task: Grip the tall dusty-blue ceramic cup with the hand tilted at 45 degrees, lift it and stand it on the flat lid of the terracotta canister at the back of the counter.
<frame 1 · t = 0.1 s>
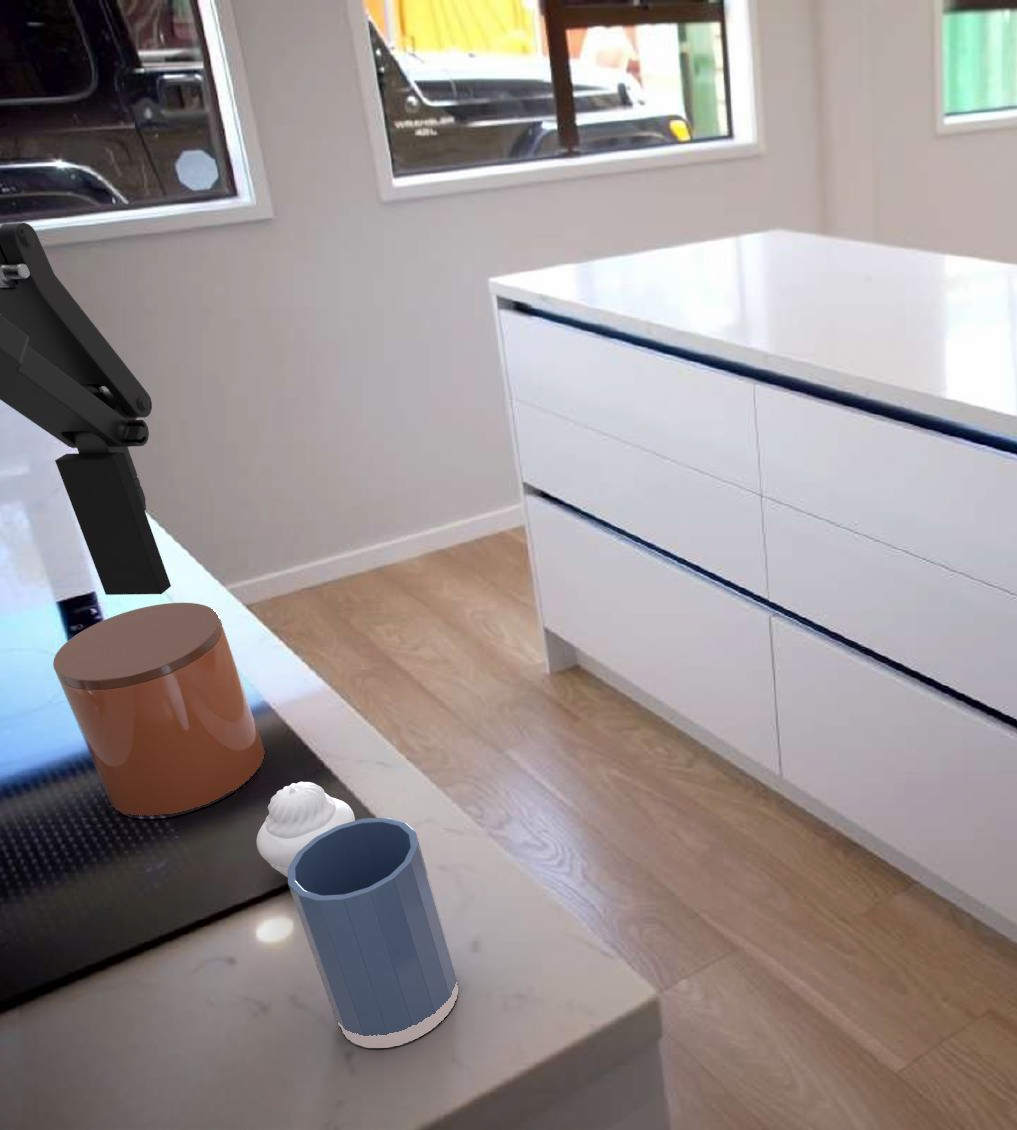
hand: (38, 672, 52), 30 cm above the worktop, tool pointing down, fingers open, 13 cm apart
canister: (189, 774, 98), on the worktop
muffin: (320, 873, 87), on the worktop
cup: (399, 1003, 75), on the worktop
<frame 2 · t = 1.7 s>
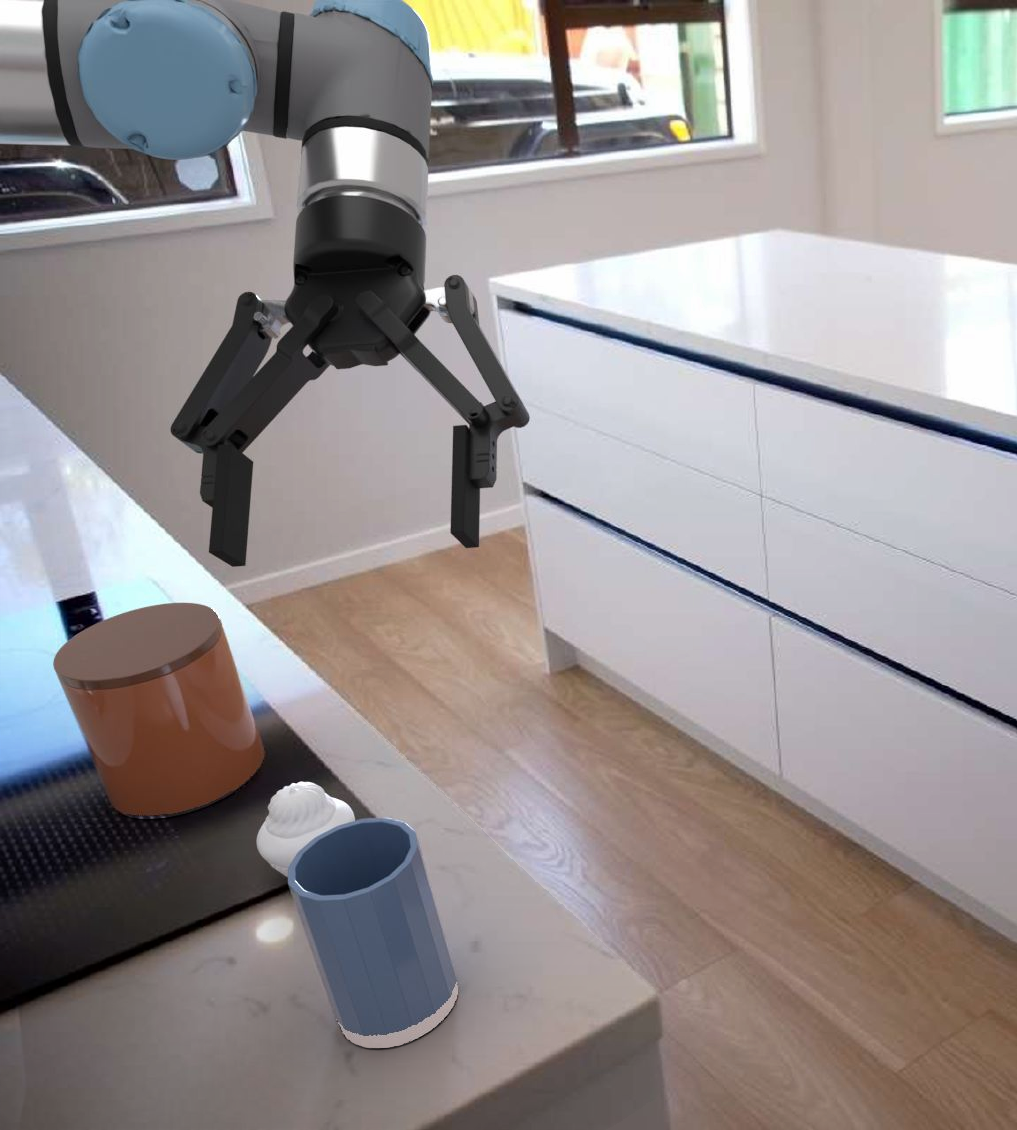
hand: (345, 550, 73), 25 cm above the worktop, tool tilted 45°, fingers open, 13 cm apart
nothing on the worktop moved.
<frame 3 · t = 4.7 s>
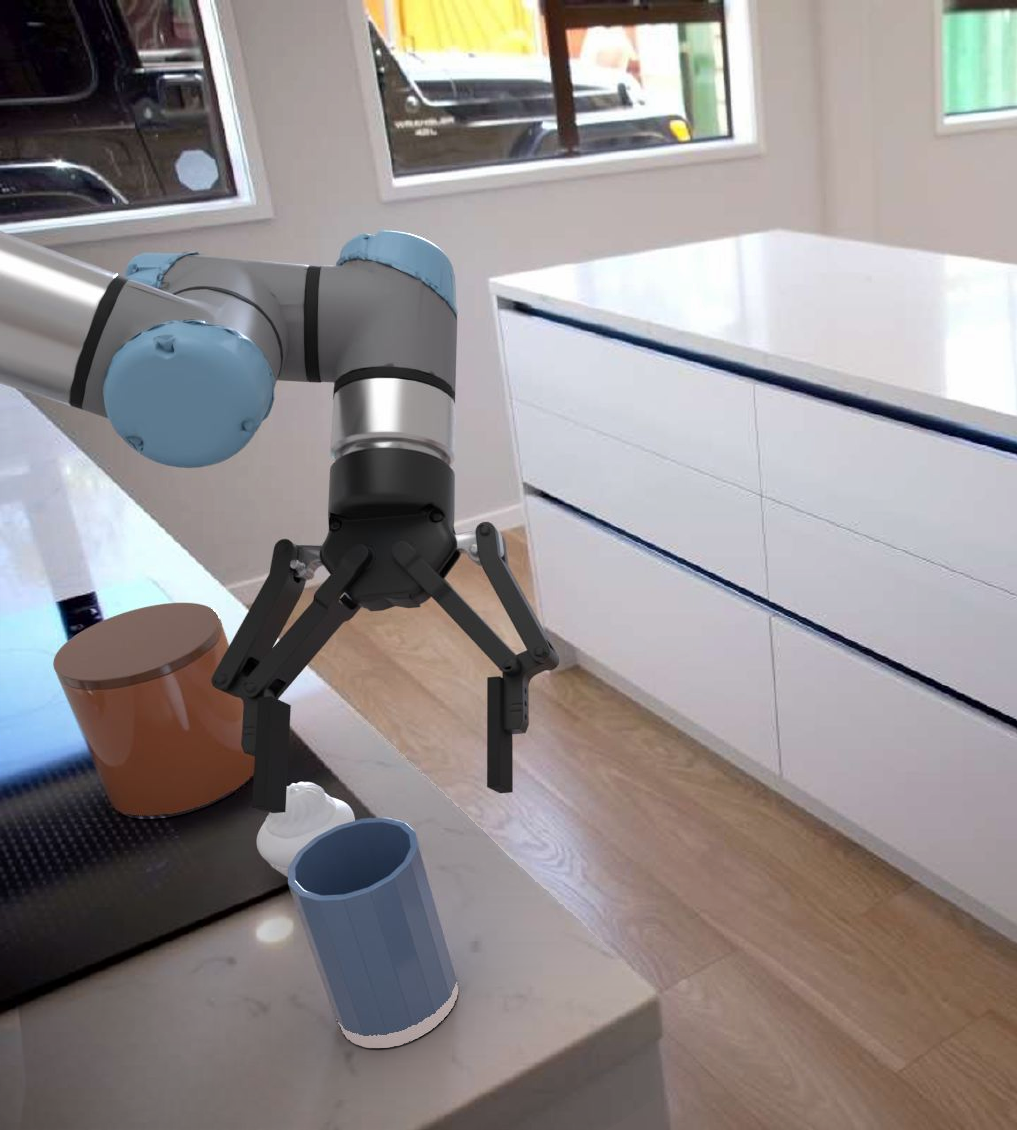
hand: (384, 800, 75), 11 cm above the worktop, tool tilted 45°, fingers open, 13 cm apart
nothing on the worktop moved.
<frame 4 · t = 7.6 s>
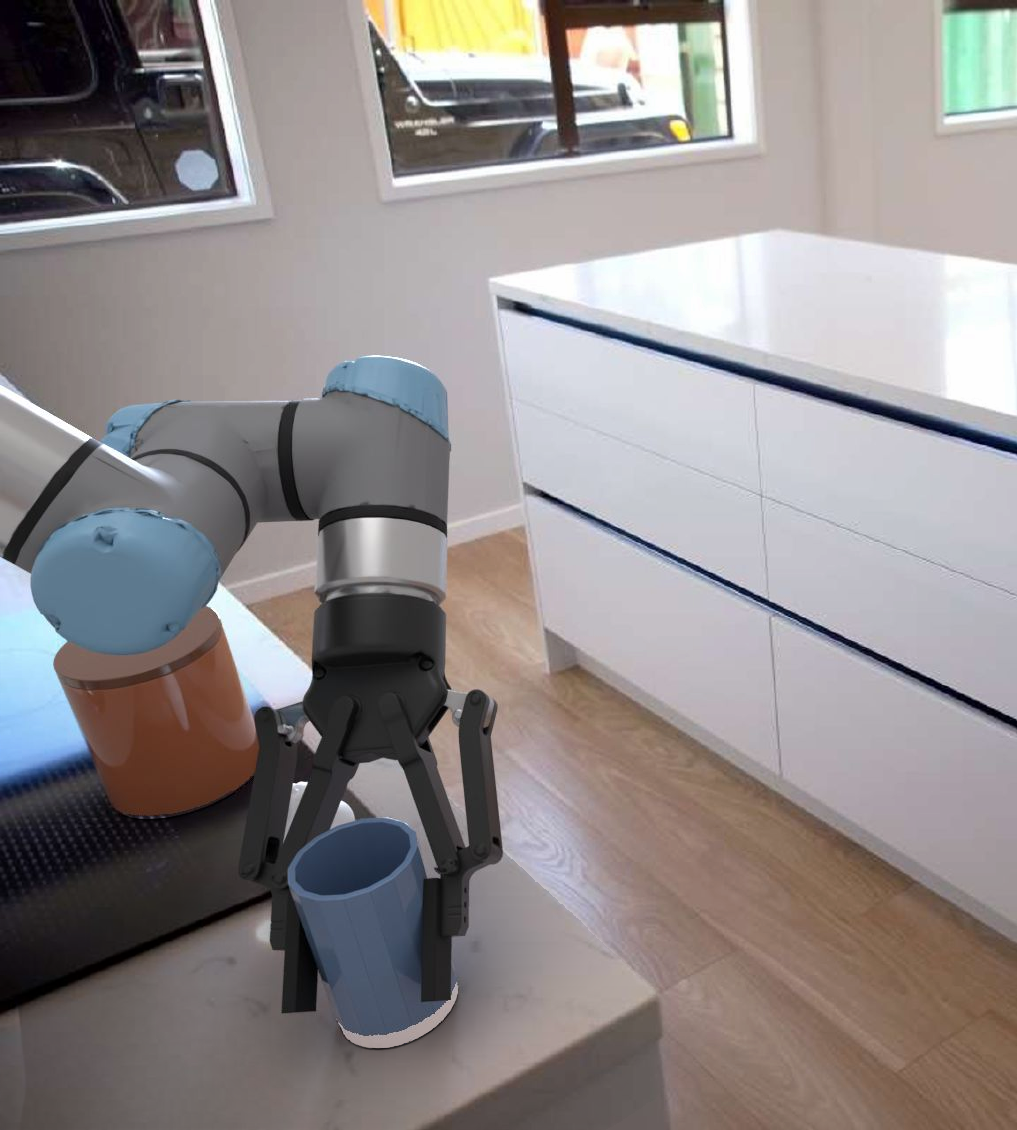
hand: (367, 1005, 71), 3 cm above the worktop, tool tilted 45°, fingers closed on cup, 7 cm apart
cup: (399, 1003, 75), on the worktop, touching gripper
everything else where it was.
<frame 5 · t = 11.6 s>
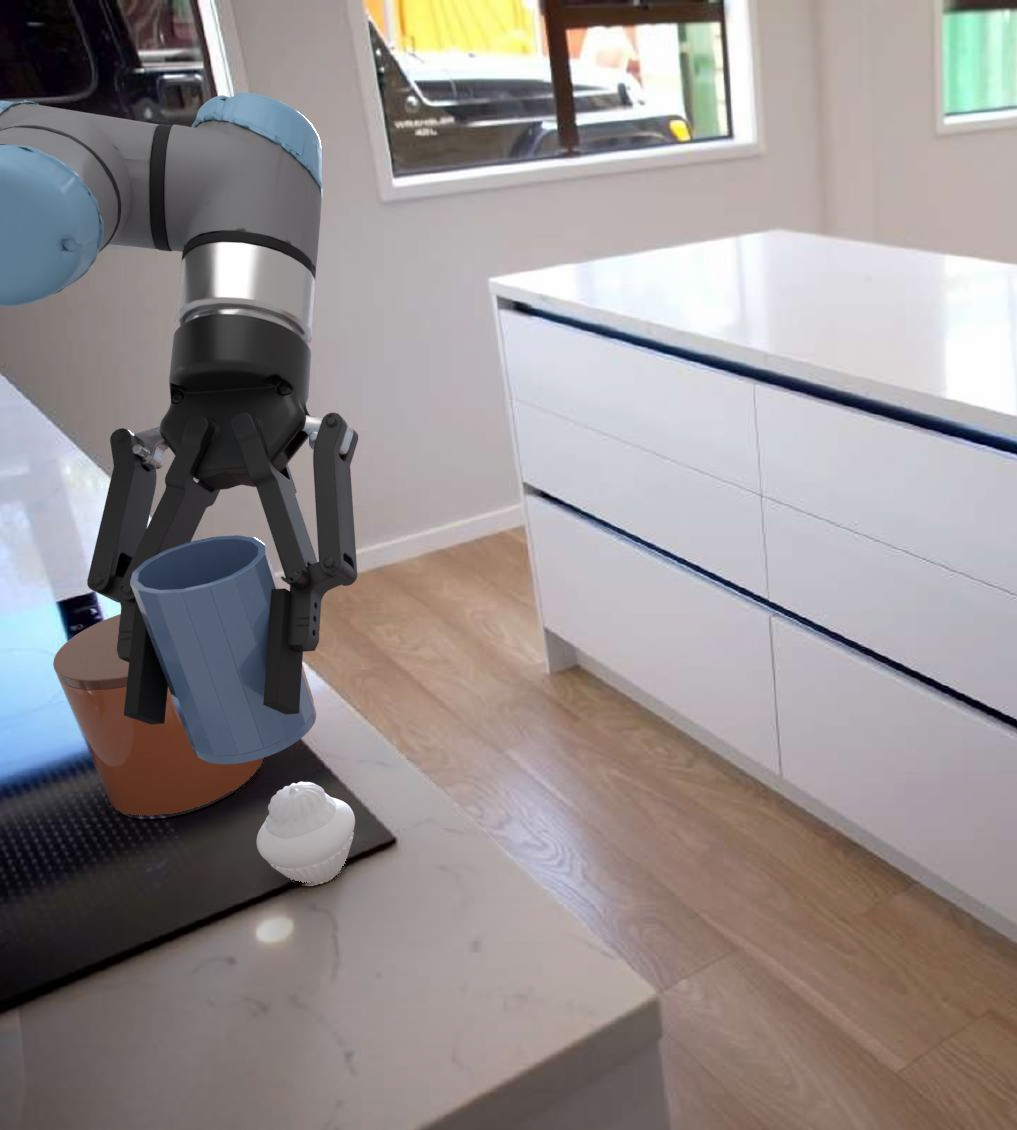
hand: (213, 713, 70), 18 cm above the worktop, tool tilted 45°, fingers closed on cup, 7 cm apart
cup: (255, 729, 75), point 15 cm above the worktop, touching gripper
everything else where it was.
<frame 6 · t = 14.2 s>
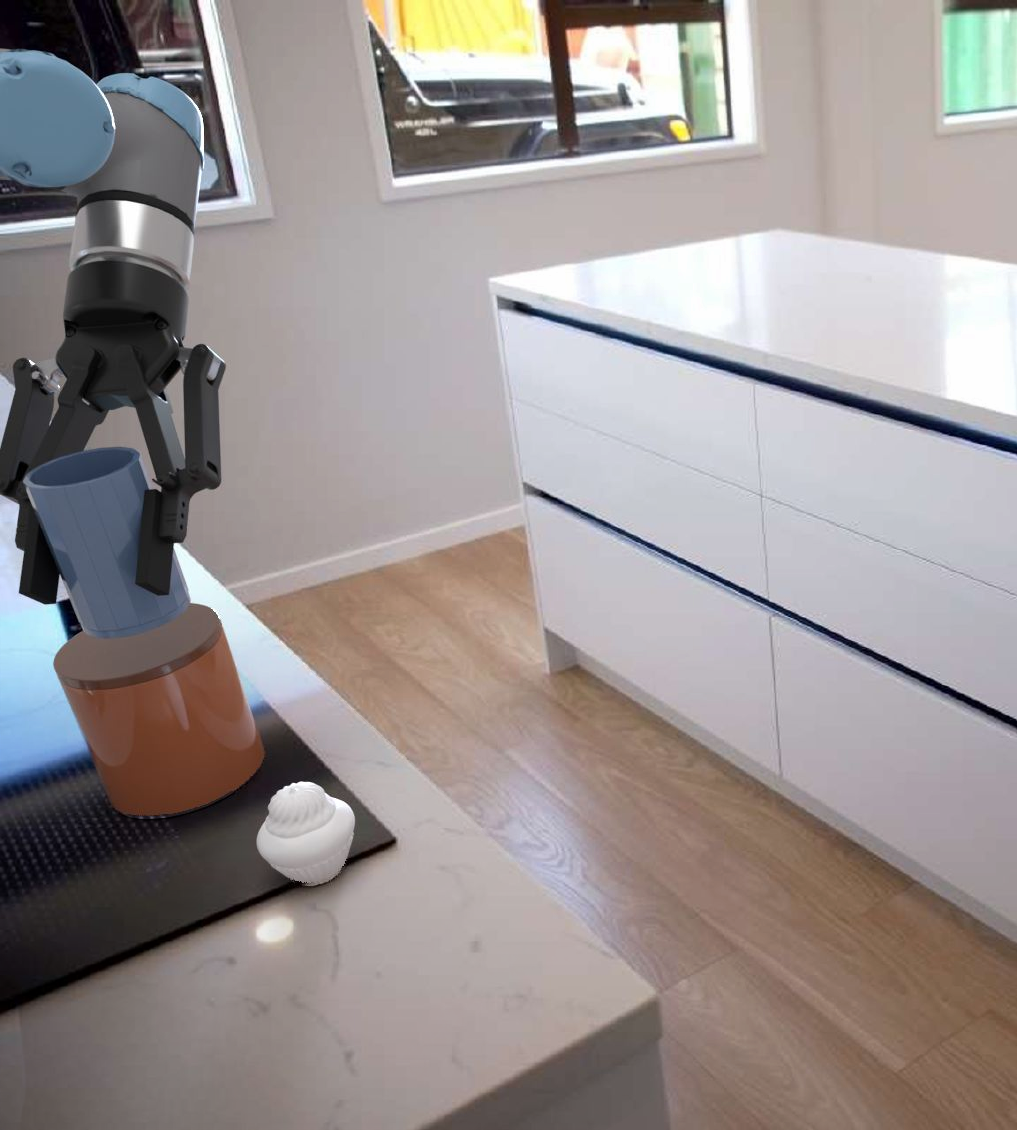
hand: (95, 593, 84), 19 cm above the worktop, tool tilted 45°, fingers closed on cup, 7 cm apart
cup: (137, 613, 89), point 15 cm above the worktop, touching gripper
everything else where it was.
when the fingers open (15 cm above the worktop, at t = 16.1 s): cup stays where it is, resting on canister.
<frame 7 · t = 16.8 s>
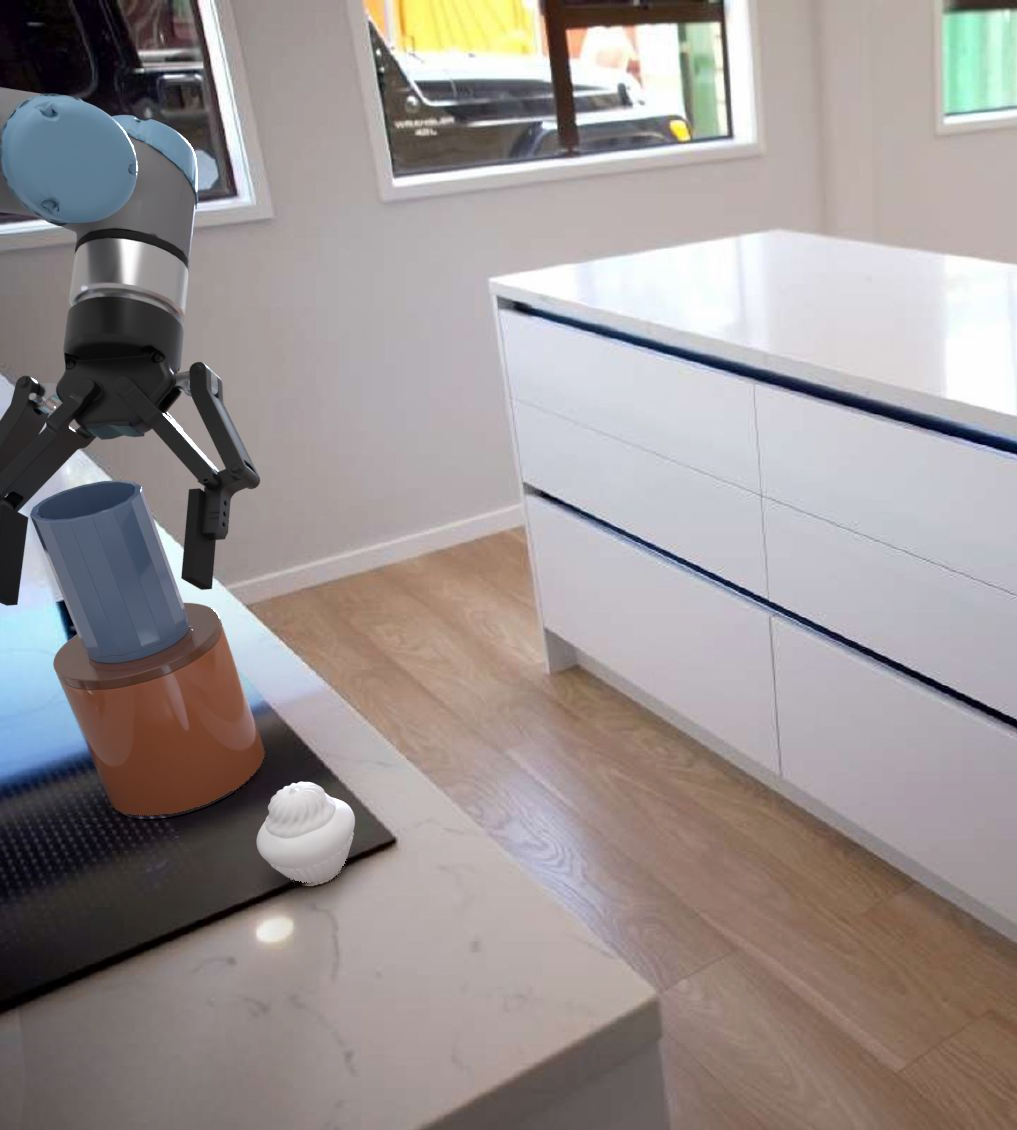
hand: (98, 592, 88), 17 cm above the worktop, tool tilted 45°, fingers open, 13 cm apart
cup: (139, 638, 93), point 12 cm above the worktop, touching canister
everything else where it was.
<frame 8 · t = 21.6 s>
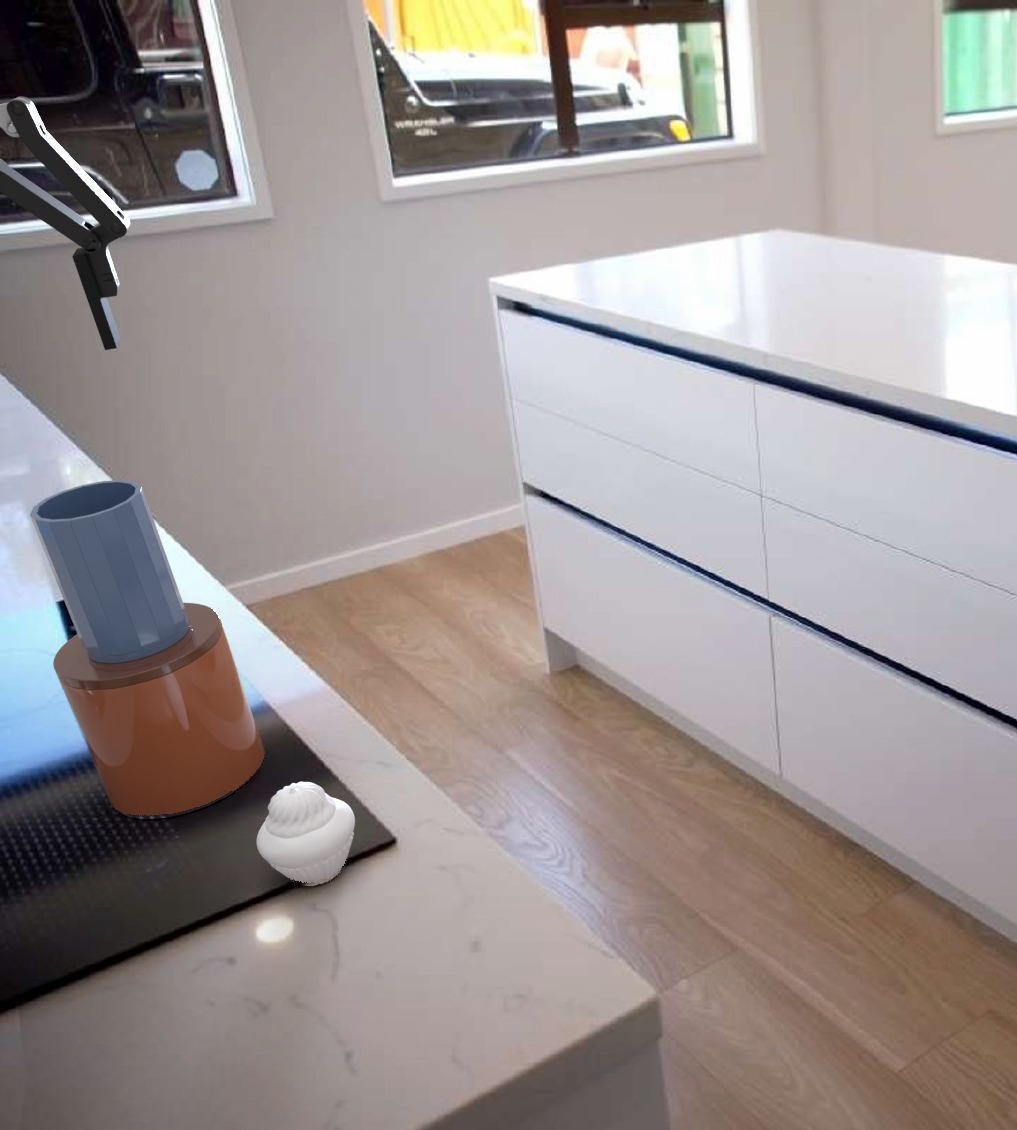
hand: (4, 362, 88), 32 cm above the worktop, tool pointing down, fingers open, 13 cm apart
nothing on the worktop moved.
at the end: cup 0.1 cm off-centre on the canister, point 12.0 cm above the canister's base; cup tilted 0°; the gripper is holding nothing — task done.
